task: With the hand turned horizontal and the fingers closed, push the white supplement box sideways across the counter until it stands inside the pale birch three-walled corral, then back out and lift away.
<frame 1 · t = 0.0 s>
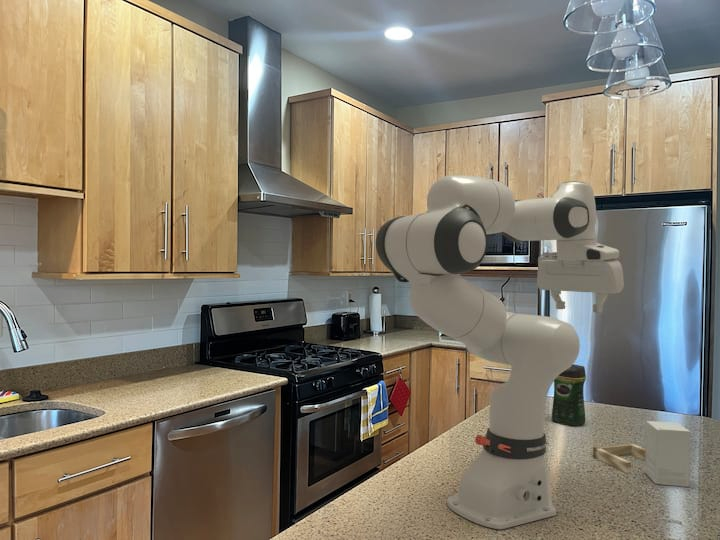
hand: (578, 310, 126), 39 cm above the countertop, tool pointing down, fingers open, 8 cm apart
supplement box: (666, 480, 124), on the countertop
corral: (631, 463, 134), on the countertop
coffee jar: (568, 423, 169), on the countertop
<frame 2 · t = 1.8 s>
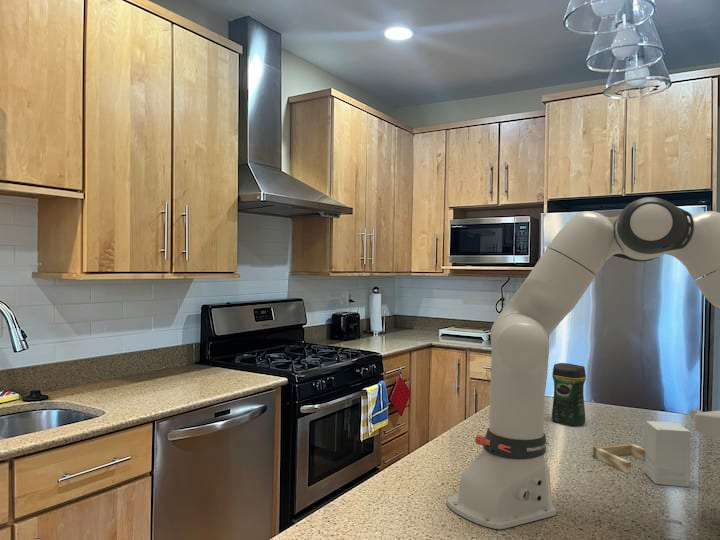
hand: (707, 411, 115), 18 cm above the countertop, tool horizontal, fingers open, 7 cm apart
nothing on the countertop moved.
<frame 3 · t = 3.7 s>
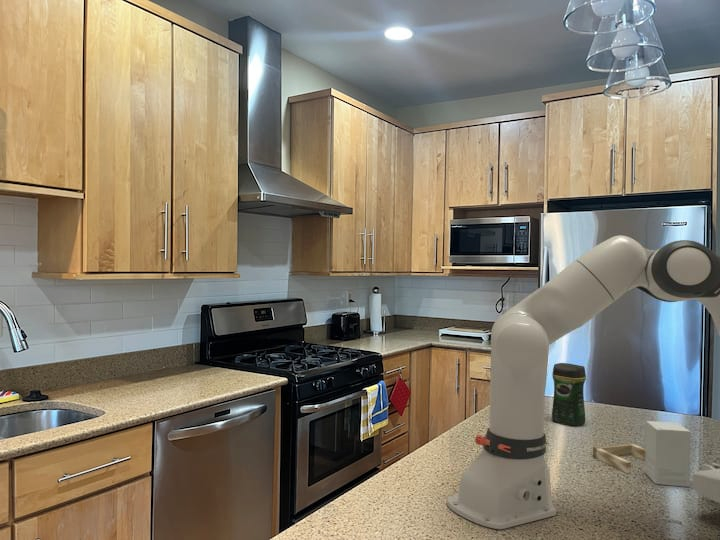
hand: (706, 466, 114), 7 cm above the countertop, tool horizontal, fingers closed
nothing on the countertop moved.
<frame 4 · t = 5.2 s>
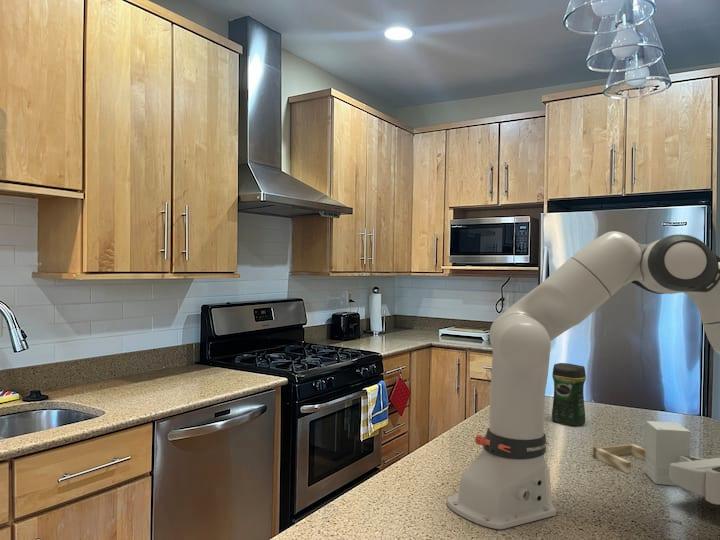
hand: (684, 459, 120), 6 cm above the countertop, tool horizontal, fingers closed
supplement box: (666, 480, 124), on the countertop, touching gripper
everything else where it was.
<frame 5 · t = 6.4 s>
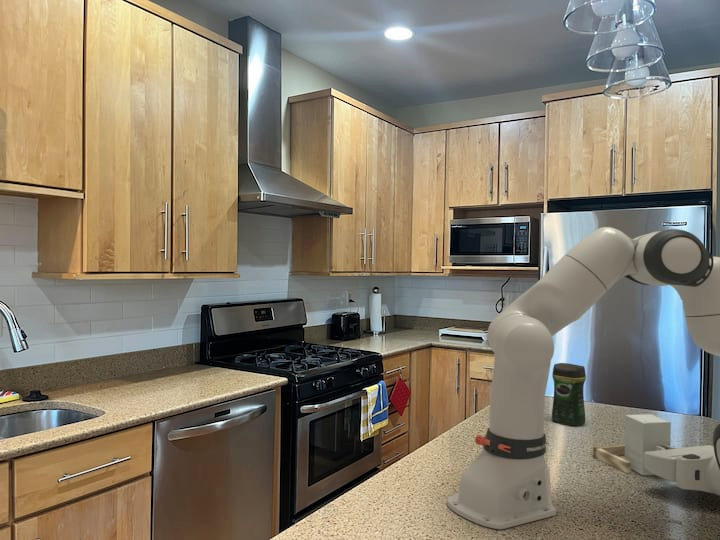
hand: (659, 448, 126), 6 cm above the countertop, tool horizontal, fingers closed
supplement box: (646, 470, 130), on the countertop, touching gripper
everything else where it was.
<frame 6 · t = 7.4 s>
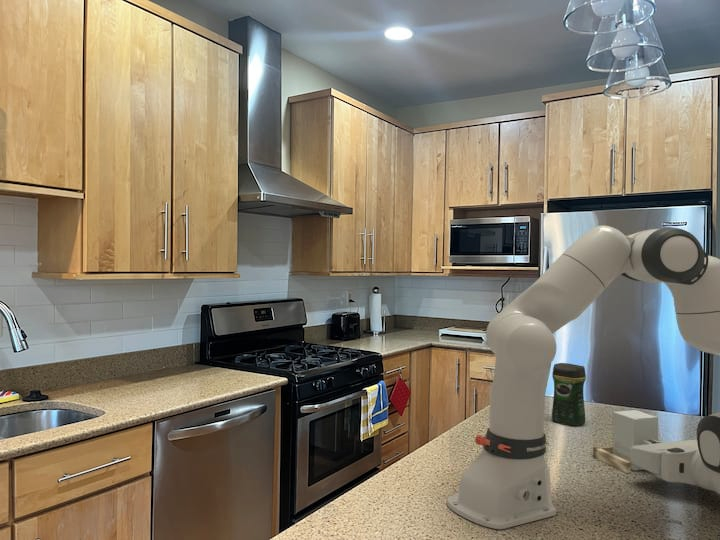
hand: (647, 443, 130), 7 cm above the countertop, tool horizontal, fingers closed, pressing on supplement box
supplement box: (634, 465, 133), on the countertop, touching gripper
everything else where it was.
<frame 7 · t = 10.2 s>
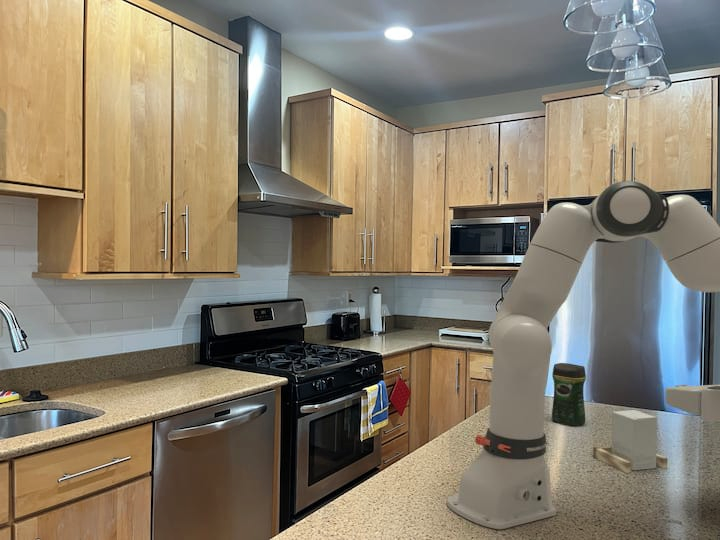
hand: (679, 388, 121), 22 cm above the countertop, tool horizontal, fingers closed
supplement box: (633, 465, 134), on the countertop
everything else where it was.
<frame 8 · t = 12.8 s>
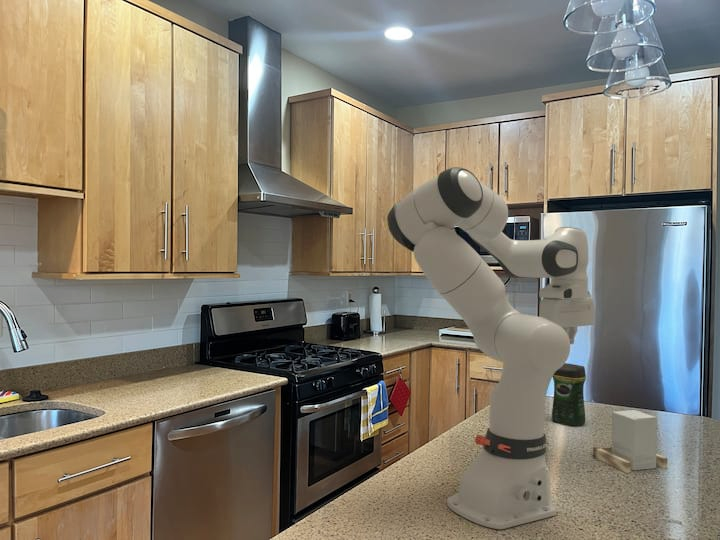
hand: (567, 344, 138), 29 cm above the countertop, tool pointing down, fingers closed
nothing on the countertop moved.
at the end: supplement box inside the target area on the corral (0.6 cm from its centre), point 0.0 cm above the corral's base; supplement box tilted 0°; the gripper is holding nothing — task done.
